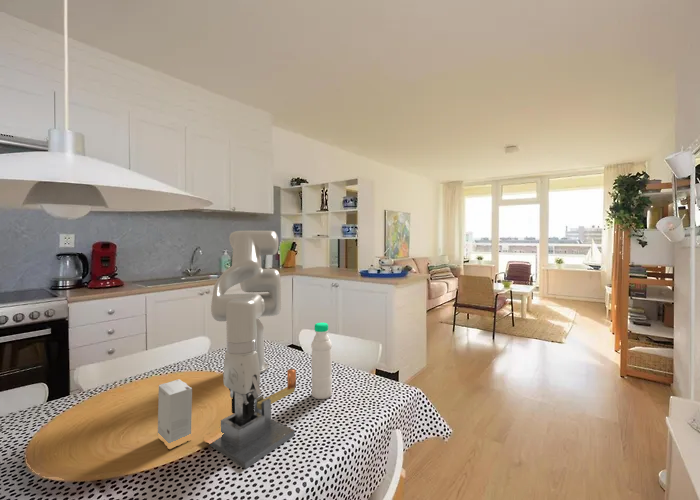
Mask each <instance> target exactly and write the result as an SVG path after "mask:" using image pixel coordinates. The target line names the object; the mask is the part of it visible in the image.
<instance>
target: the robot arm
mask: <svg viewBox="0 0 700 500" xmlns="http://www.w3.org/2000/svg"><path fill="white" fill-rule="evenodd" d="M228 238H229V244H230V246H231V249H233V250H232V259H231V261H232V262H231V266H230V267H229V268H227V269H226V270H224V272H223V273H221V275H220V276H219V277H218V279H217V280H216V282H215V284H214V286H213V290H212V297H211V302H210V303H211V305H210V313H211V316H212V318H213V319H214V320H215V321H217V322H226V324H225V325H226V350H225V353H224V354H225V355H224V359H223V386H224V387H226V388H227V389H228V390H229V392H230V393H229V396H230V398H231V413H232V414H234V413H235V392H234V391H236V392H238V393H240V394H243V397H244V404H243V419H247V418H249V417H250V416H252V415H254V411H255V410H254V401H255V400H256V398H257V397H259V396H262V391H261V389H260V386H261V374H263V373H265V372H266V371H268V369H269V364H268V363H267V362H265V330H264V324H263V323H262V321H261V320H259V318H261V317H272V316H273V317H275V316H278V315H279V314H280V312H281V309H282V308H281V307H282V284H281V283H282V282H281V274H280V272H279V271H278V269H276V268H262V257H261V256H273V255H274V256H275V255H276V254H277V253H278V251H279V246H280V244H279V236H278V234H277V232H276V231H274V230H236V231H232V232H231V233H230V235H229V237H228ZM238 284H240V289H241V290H242V292H244V293H228V294H226V293H227V292H228V290H229V289H231V288H232V287H234V286H236V285H238ZM248 393H251V395H250V396H249V397H248Z"/></svg>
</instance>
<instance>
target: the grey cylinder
mask: <svg viewBox="0 0 700 500" xmlns="http://www.w3.org/2000/svg"><path fill="white" fill-rule="evenodd" d="M234 392H235V424H236V425H238V426H240V427H241V426H243V425H245V424H246V423H248V422H250V421H251V416H250V417H249V418H247V419H243V404H244V397H243V394H240V393H238V392H236V391H234ZM250 395H251V393H248V397H249V396H250Z"/></svg>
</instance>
